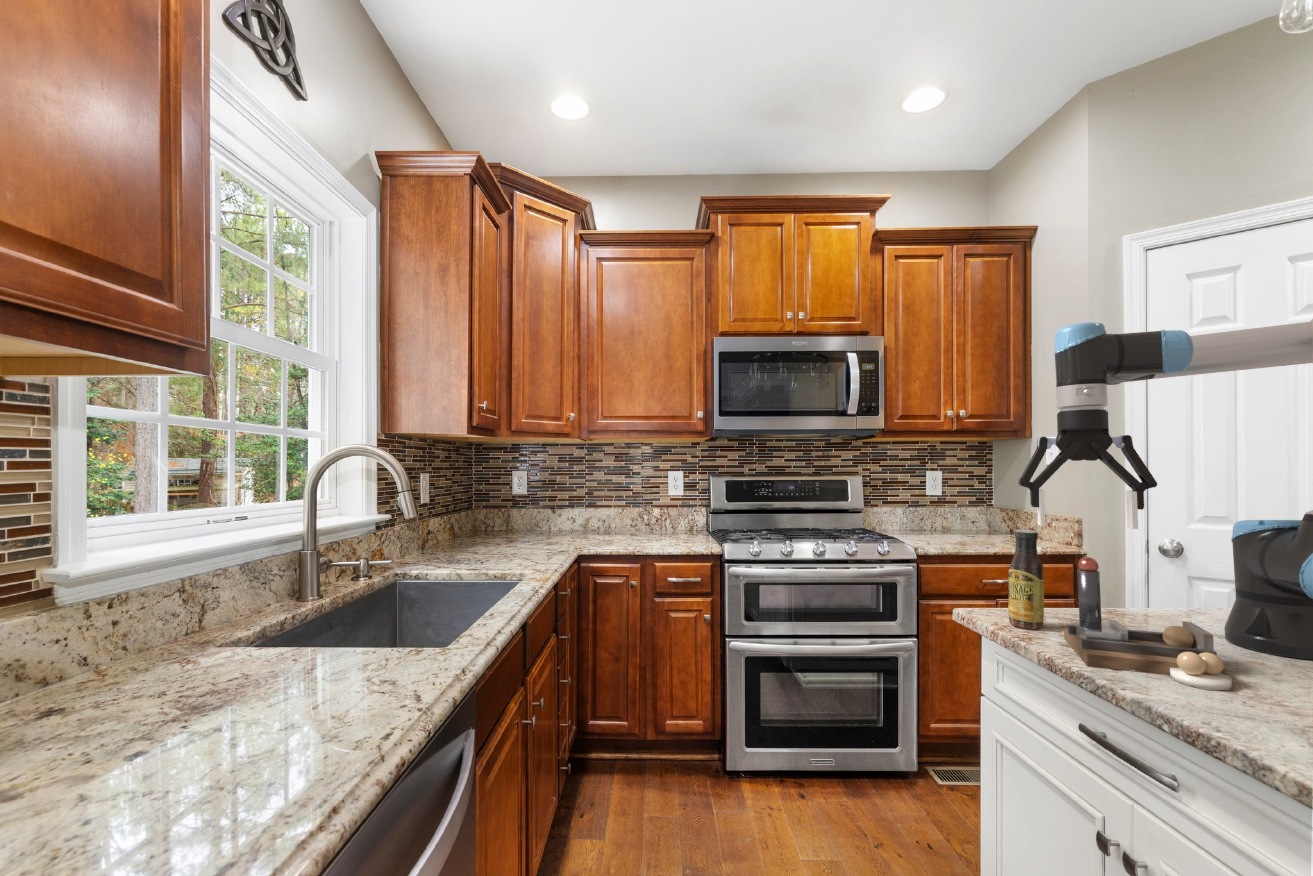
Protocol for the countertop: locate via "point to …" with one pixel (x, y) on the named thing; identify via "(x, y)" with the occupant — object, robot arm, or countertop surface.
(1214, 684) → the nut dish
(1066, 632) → the tray
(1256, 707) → the countertop surface
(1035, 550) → the sauce bottle
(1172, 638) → the walnut
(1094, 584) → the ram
